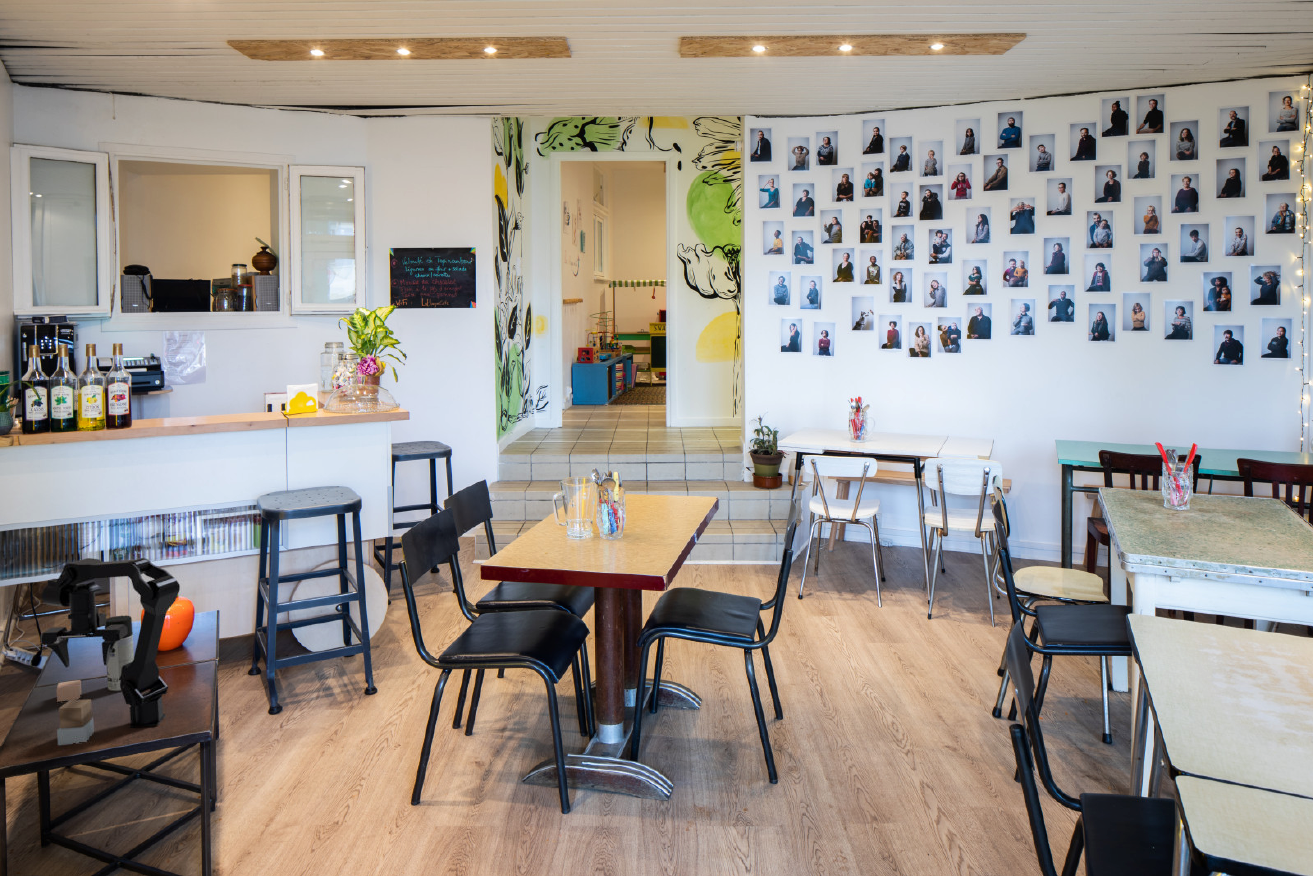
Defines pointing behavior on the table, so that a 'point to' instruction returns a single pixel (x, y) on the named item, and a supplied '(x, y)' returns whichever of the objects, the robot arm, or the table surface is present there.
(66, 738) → the slate block
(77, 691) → the terracotta block
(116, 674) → the spray can
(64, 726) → the walnut cube
